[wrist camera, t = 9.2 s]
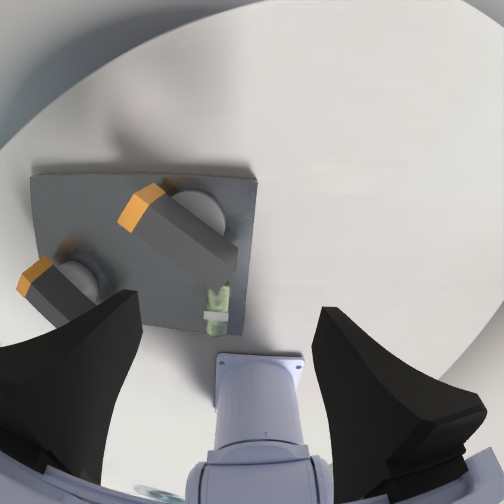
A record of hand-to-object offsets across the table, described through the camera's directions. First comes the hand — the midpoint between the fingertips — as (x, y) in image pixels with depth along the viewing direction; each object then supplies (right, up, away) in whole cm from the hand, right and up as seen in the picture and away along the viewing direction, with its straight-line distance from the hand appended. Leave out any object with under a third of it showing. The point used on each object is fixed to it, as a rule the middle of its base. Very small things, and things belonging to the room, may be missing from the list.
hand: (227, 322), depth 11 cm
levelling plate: (-8, +3, +10) cm, 13 cm away
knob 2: (-3, +5, +8) cm, 10 cm away
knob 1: (-13, 0, +10) cm, 17 cm away
